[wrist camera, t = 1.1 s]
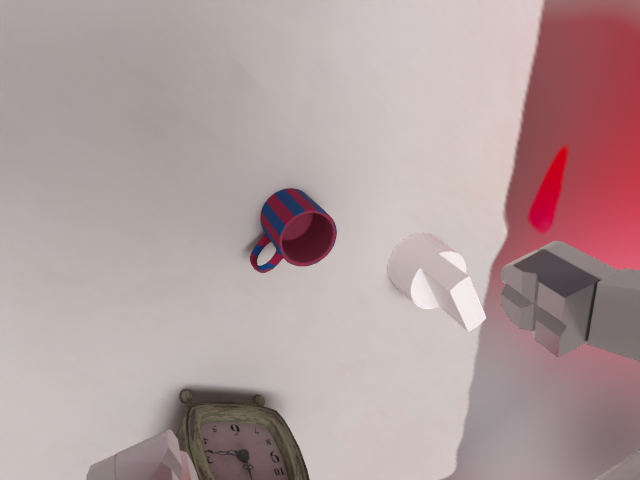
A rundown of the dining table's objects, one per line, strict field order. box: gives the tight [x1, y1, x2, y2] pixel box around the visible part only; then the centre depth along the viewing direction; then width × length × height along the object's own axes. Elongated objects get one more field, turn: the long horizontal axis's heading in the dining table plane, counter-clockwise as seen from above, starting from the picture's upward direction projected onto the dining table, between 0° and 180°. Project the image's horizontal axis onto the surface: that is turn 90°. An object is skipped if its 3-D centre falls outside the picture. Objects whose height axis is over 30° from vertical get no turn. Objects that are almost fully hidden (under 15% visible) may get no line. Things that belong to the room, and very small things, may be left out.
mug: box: [250, 189, 337, 273], centre depth 50 cm, size 7×10×7 cm
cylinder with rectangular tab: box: [387, 232, 486, 332], centre depth 59 cm, size 9×9×12 cm
